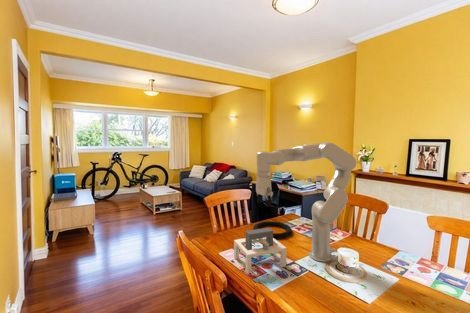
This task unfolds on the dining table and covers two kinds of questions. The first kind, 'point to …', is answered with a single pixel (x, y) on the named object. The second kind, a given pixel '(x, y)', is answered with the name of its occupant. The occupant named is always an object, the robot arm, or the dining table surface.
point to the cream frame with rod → (259, 251)
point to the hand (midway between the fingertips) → (264, 204)
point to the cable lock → (277, 224)
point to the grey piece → (259, 236)
